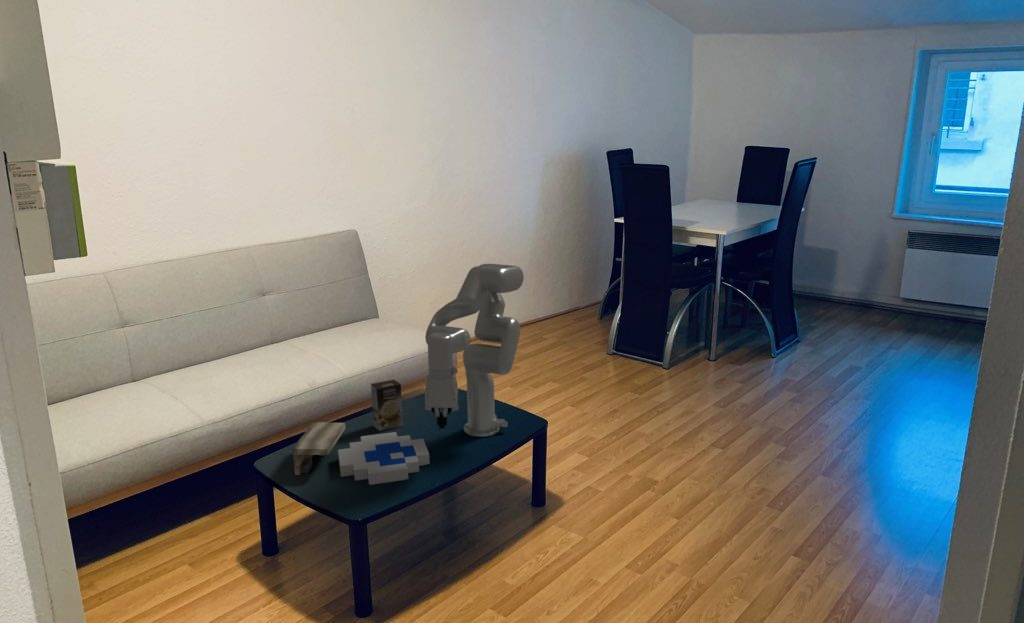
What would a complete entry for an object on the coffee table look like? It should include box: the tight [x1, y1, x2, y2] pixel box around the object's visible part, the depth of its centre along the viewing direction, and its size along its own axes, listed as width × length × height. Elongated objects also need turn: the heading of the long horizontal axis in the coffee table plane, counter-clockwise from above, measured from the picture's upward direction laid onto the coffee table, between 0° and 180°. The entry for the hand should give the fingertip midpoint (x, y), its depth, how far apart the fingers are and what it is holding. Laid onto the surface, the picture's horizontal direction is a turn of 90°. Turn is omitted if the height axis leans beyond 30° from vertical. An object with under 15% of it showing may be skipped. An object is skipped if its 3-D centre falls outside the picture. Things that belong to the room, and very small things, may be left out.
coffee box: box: [370, 379, 404, 432], centre depth 280 cm, size 9×6×16 cm
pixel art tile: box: [337, 431, 430, 486], centre depth 254 cm, size 28×4×28 cm
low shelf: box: [292, 421, 346, 476], centre depth 255 cm, size 11×20×9 cm, turn 176°
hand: (442, 427), depth 249 cm, fingers closed
